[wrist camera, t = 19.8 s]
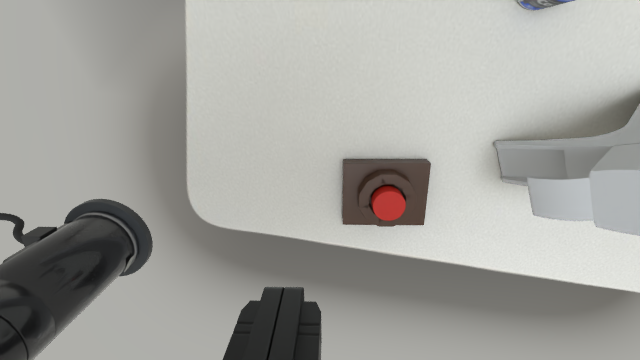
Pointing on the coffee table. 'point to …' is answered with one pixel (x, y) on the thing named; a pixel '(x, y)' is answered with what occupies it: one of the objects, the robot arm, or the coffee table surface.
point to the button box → (377, 173)
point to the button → (388, 203)
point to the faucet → (580, 176)
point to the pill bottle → (540, 3)
